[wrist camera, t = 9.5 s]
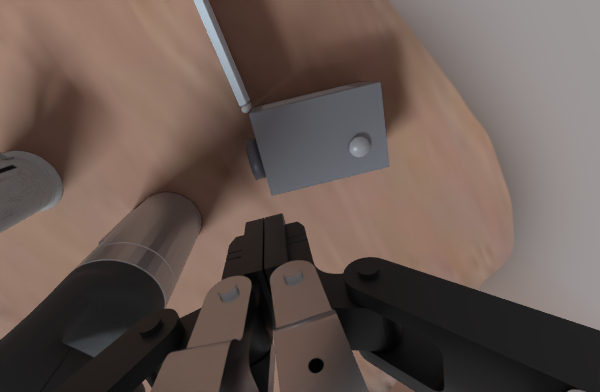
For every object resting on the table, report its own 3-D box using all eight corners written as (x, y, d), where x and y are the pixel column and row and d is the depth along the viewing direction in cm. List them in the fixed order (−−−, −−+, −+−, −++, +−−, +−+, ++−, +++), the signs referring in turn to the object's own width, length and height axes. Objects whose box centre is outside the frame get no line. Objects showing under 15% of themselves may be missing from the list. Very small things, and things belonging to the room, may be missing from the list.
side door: (252, 106, 39) (249, 111, 32) (240, 111, 39) (235, 117, 32) (195, -31, 33) (177, -59, 26) (180, -25, 33) (159, -51, 26)
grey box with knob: (260, 178, 43) (258, 200, 35) (240, 110, 39) (233, 117, 31) (368, 151, 43) (391, 168, 35) (359, 81, 39) (382, 81, 31)
